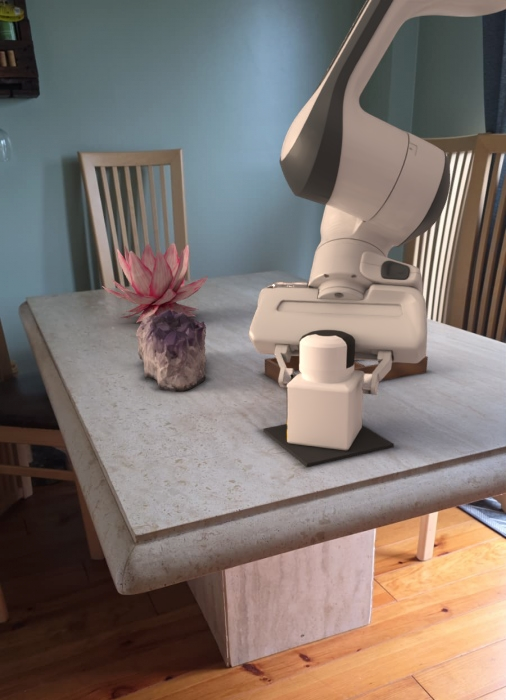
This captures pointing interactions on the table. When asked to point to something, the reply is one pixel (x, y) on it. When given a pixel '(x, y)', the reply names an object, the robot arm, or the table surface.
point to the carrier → (396, 369)
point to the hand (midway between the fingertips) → (326, 388)
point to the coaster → (317, 455)
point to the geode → (173, 350)
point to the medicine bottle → (325, 392)
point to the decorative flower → (157, 282)
